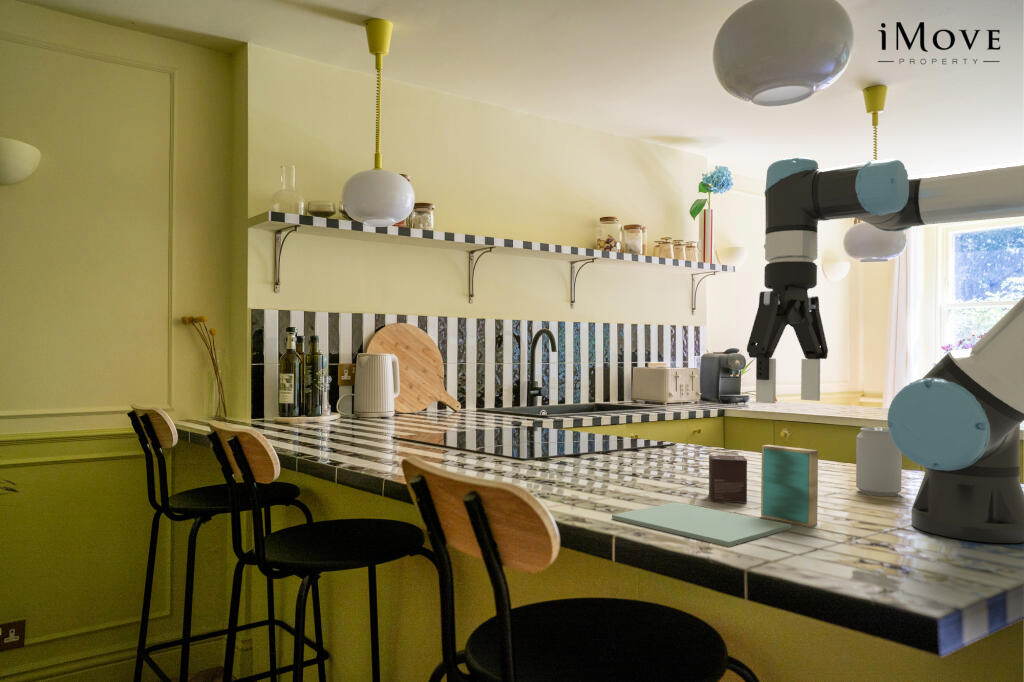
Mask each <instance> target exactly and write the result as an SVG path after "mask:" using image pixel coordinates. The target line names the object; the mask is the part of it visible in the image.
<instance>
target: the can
mask: <svg viewBox="0 0 1024 682" xmlns="http://www.w3.org/2000/svg"><path fill="white" fill-rule="evenodd" d="M859 430H860V432H859V433H858V434H857V435H856V437H855V438H856V441H855V442H856V453H855V454H856V455H855V456H856V460H855V465H856V467H855V470H856V471H855V472H856V473H855V476H856V477H855V481H856V482H855V483H856V484H855V487H856V488H857V489H858V490H859V491H860V492H861V493H863V494H864V495H867V496H869V495H870V496H876V497H895V496H897V495H898V494H899V493H901V492H902V478H903V477H902V474H903V473H902V470H903V469H902V468H903V467H902V462H903V460H902V457H903V456H902V455H903V453H901V451H900V450H899V449H898V448H897V447H896V445H895V444H894V442H893V440H892V438H891V436H890V433H889V428H888V427H881V426H879V427H878V426H876V427H861V428H859Z"/></svg>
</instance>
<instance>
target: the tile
mask: <svg viewBox="0 0 1024 682" xmlns="http://www.w3.org/2000/svg"><path fill="white" fill-rule="evenodd" d="M760 476H761V478H760V479H761V487H760V488H761V491H760V492H761V493H760V494H761V495H760V497H761V498H760V501H761V502H760V517H761V516H762V517H761V518H765V517H767V518H766V519H770V518H773V519H772V520H776V519H778V520H777V521H781V520H782V521H781V522H786V523H787V522H788V523H791V522H792V523H791V524H798V525H801V526H806V527H813V526H816V525H818V503H819V502H818V494H819V493H818V492H819V491H818V490H819V489H818V488H819V485H818V483H819V481H818V479H819V477H818V476H819V450H816V449H810V448H809V449H807V448H802V447H791V446H781V445H773V444H765V445H761V475H760Z"/></svg>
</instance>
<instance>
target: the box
mask: <svg viewBox="0 0 1024 682" xmlns="http://www.w3.org/2000/svg"><path fill="white" fill-rule="evenodd" d="M708 496H709V499H710V501H711V502H720V503H721V502H723V503H724V502H725V503H739V504H740V503H743V504H744V503H745V504H747V502H748V497H747V496H748V460H747V459H746V458H745V457H744V456H743V455H725V454H709V455H708Z"/></svg>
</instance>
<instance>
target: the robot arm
mask: <svg viewBox="0 0 1024 682" xmlns="http://www.w3.org/2000/svg"><path fill="white" fill-rule="evenodd" d="M765 178H766V181H765V190H764V192H763V193H764V197H765V198H764V199H765V202H764V203H765V205H764V206H765V231H764V233H765V235H764V236H765V241H764V245H763V248H764V252H765V253H764V260H765V261H767V262H768V263H767V264H766V265H765V266H764V276H763V277H764V281H763V282H764V287H765V288H766V289H769V290H766V291H760V292H759V297H758V307H757V311H756V315H755V318H754V322H753V325H752V328H751V332H750V336H749V338H748V343H747V345H746V352H747V353H748V357H749V358H750V359H751V358H754V359H755V361H756V362H755V366H756V367H755V368H756V369H755V403H760V404H776V400H777V399H776V395H777V394H776V391H777V390H776V389H777V385H776V384H777V383H776V382H777V379H776V378H777V363H776V362H777V358H773V355H774V354H775V352H776V348H777V346H778V345H779V342H780V341H781V338H782V336H783V334H784V331H785V329H786V327H787V326H788V325H789V326H790V327H792V328H793V331H794V333H795V336H796V338H797V341H798V343H799V345H800V347H801V350H802V353H803V356H804V358H801V366H800V367H801V376H800V380H801V382H800V400H802V401H818V402H819V401H821V360H826V359H828V353H829V348H828V343H827V339H826V335H825V331H824V326H823V321H822V317H821V312H820V300H819V296H816V295H815V296H809V294H808V291H809V289H814V288H815V287H817V285H818V264H816V262H814V261H816V260H817V259H818V224H819V221H823V222H824V221H825V222H826V221H830V220H841V219H852V218H855V219H857V220H859V221H862V222H865V223H867V224H869V225H870V226H873V227H875V228H877V229H878V230H881V231H885V232H894V233H895V232H896V233H897V232H903V231H906V230H909V229H911V228H912V227H919V226H920V227H921V226H925V225H926V226H927V225H935V224H936V225H937V224H949V223H950V224H951V223H960V222H961V223H962V222H971V221H972V222H973V221H982V220H983V221H984V220H994V219H995V220H997V219H1005V218H1007V219H1009V218H1019V217H1020V218H1021V217H1024V161H1020V162H1019V161H1018V162H1012V163H1005V164H998V165H997V164H996V165H990V166H983V167H975V168H967V169H966V168H965V169H960V170H958V169H957V170H952V171H945V172H937V173H929V174H923V175H914V176H909V174H908V170H907V169H906V166H905V164H904V163H903V162H902V160H899V159H896V158H895V159H894V158H891V159H883V160H879V159H873V160H869V161H867V162H862V163H854V164H849V165H843V166H838V167H830V168H824V169H820V168H819V163H818V162H817V160H815V159H813V158H810V157H795V158H794V157H793V158H792V157H789V158H783V159H779V160H776V161H775V162H772V163H771V164H770V165H769V166H768V167H767V170H766V177H765ZM886 421H887V428H888V429H889V433H890V436H891V438H892V440H893V442H894V444H895V445H896V447H897V448H898V449H899V450H900V451H901V453H902V455H903V456H904V457H906V458H907V459H908V460H910V461H911V462H913V463H914V464H916V465H918V466H921V467H923V468H924V476H923V478H922V481H921V483H920V486H919V489H918V492H917V494H916V496H915V498H914V499H915V500H914V501H913V504H912V507H911V515H910V516H911V518H910V520H911V523H910V524H911V525H912V526H913V527H915V528H916V529H918V530H922V531H924V532H926V533H929V534H935V535H937V536H941V537H942V536H943V537H947V538H953V539H959V540H965V541H973V542H981V543H995V544H1021V543H1024V489H1023V487H1022V485H1021V481H1020V479H1021V478H1020V477H1021V476H1020V475H1021V474H1020V473H1021V472H1020V469H1021V467H1020V466H1021V465H1020V463H1021V461H1020V459H1021V458H1020V457H1021V456H1020V455H1021V452H1020V451H1021V448H1020V447H1021V440H1020V439H1021V435H1020V433H1021V423H1023V421H1024V296H1023V297H1022V298H1020V300H1019V301H1017V303H1016V304H1015V305H1014V306H1013V307H1011V308H1010V310H1009V311H1008V312H1007V313H1005V314H1004V315H1003V316H1002V317H1001V318H1000V320H999V321H997V322H996V323H995V324H994V325H993V326H992V327H991V328H990V329H989V330H988V331H987V332H986V333H985V334H983V336H982V337H981V338H980V339H979V340H978V341H977V342H975V343H974V345H973V346H972V347H970V348H966V349H953V350H952V349H951V350H950V351H949V352H947V354H945V355H944V356H943V358H941V359H940V360H939V361H938V362H937V363H936V364H935V365H934V366H933V367H932V368H931V369H930V370H929V371H928V372H927V373H926V374H925V375H924V376H923V377H922V378H920V379H917V380H915V381H912V382H910V383H909V384H907V385H905V386H904V387H902V389H901V390H900V391H898V392H897V394H896V395H895V396H894V397H893V399H892V401H891V402H890V404H889V408H888V412H887V420H886Z"/></svg>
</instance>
